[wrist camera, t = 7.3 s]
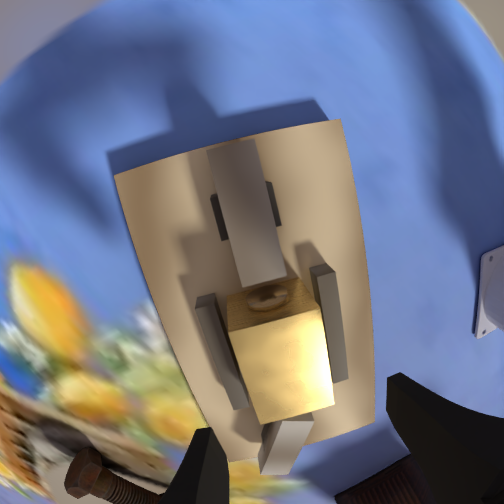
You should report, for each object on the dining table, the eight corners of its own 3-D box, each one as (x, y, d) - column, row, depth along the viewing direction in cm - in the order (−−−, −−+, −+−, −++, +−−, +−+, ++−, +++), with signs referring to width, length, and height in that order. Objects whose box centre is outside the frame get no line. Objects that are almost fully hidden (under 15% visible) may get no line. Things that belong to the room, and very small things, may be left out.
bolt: (196, 499, 27) (81, 442, 23) (222, 505, 24) (93, 446, 20) (181, 537, 22) (59, 485, 18) (206, 548, 19) (68, 497, 15)
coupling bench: (330, 122, 16) (363, 110, 12) (367, 410, 22) (387, 445, 18) (122, 174, 16) (92, 177, 12) (228, 448, 22) (230, 488, 18)
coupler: (297, 269, 17) (318, 299, 13) (316, 367, 18) (334, 408, 15) (224, 289, 16) (225, 324, 13) (254, 384, 18) (261, 429, 14)
